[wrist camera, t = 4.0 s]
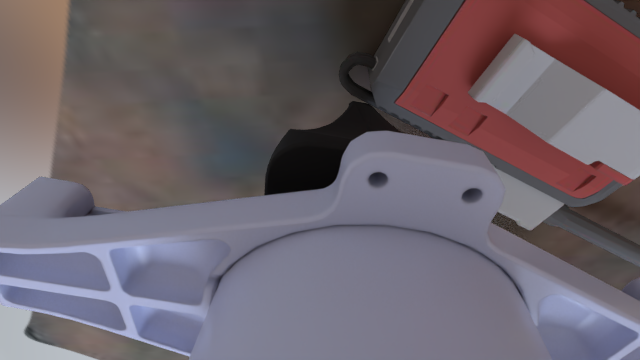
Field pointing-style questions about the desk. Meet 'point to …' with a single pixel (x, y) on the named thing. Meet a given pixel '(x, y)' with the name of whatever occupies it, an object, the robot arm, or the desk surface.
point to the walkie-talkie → (522, 98)
